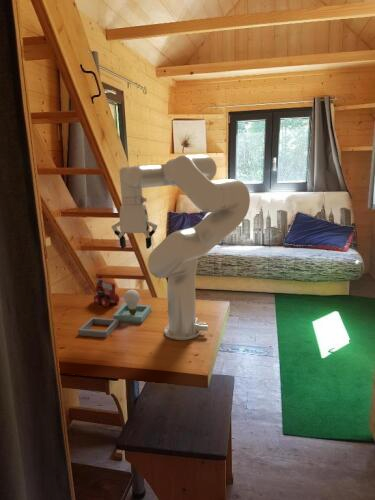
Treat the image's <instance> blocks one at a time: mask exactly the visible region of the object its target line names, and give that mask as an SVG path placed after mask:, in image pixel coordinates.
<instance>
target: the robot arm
mask: <svg viewBox="0 0 375 500" xmlns="http://www.w3.org/2000/svg"><path fill="white" fill-rule="evenodd" d="M217 168H218V167H217V164H216V162H215V160H214V159H213V158H212V157H210V156H208V155H206V154H184V155H183V154H182V155H179V156H177V157H176V158H171V159H168V161H167V162H166V163H164V164H147V165H146V164H145V165H134V166H125V167H124V166H122V167H120V169H119V171H118V172H119V182H120V183H119V184H120V194H121V195H120V197H121V204H122V205H120V208H119V221H118V222H117V223H115V224H113V225H111V229H112V231H113V232H114V235H116V236H117V238H118V239H119V246H120V248H121V249H122V250H123V249H125V248H126V247H127V240H126V237H125V235H126V234H144V236H146V237H145V248H146V249H150V248H151V246H152V245H153V244H152V236H153V235H154V234H156V231H157V229H158V224H156V223H154V222H152V221H150V220H149V214H148V209H147V206H146V204H144V203H145V202H147V198H146V197H144V196H143V189H147V188H155V187H156V188H157V187H158V188H159V187H164V186H167V187H168V186H172V187H178V189H179V190H181V192H182V193H183V194H184V195H185V196H186V197H187V198H188V200H190V202H192V203H193V205H194V206H195V207H196V208H197V209H199V210H200V211H203V212H205V213H208V214H207V215H205V217H204V218H203V219H202V220H201V221H200V222H199V223H197V224H196V225H194V226H191V227H187V228H184V229H183V228H182V229H179V230H176V231H174V232H172V233H169V235H167V236H166V237H165V238H164V239H163V240H162V241H161V242H160V243H159V244H158V245H157V246H156V247H155V248H154V249H153V250H152V251H151V252H150V253H149V256H148V259H147V268H148V271H149V272H150V274H151V275H152V276H153V277H155V278H157V279H162V280H163V279H167V284H166V289H167V291H166V292H167V293H166V295H167V296H166V297H167V316H168V317H167V319H168V322H167V323H168V324H167V325H166V326H165V328H164V331H163V332H164V335H165V337H167V338H169V339H171V340H176V341H188V340H192V339H194V338H197V337H198V336H199V335H200V334H201V331H202V332H204V331H205V332H208V331H209V325H207V322H199V318H198V317H197V315H196V314H197V313H196V312H197V311H196V307H197V306H196V275H197V274H196V273H197V266H198V260H199V258H201V257H203V256H205V255H206V254H208V253H209V252H211V250H212V249H214V248H215V247H216V246H218V244H219V243H221V242H222V241H223V240H224V239H225V238H226V237H228V235H230V234H231V233H232V232H234V231H235V229H237V228H238V227H239V226H240V225H241V224H242V223H243V221H244V220H245V218H246V216H247V214H248V212H249V209H250V204H251V198H250V197H251V196H250V192H249V191H250V190H249V188H248V187H247V185H246V183H244V182H243V181H241V180H238V179H233V178H226V179H216V180H213V179H214V178H215V176H216V174H217ZM118 227H119V229H120V230H118ZM150 227H151V228H152V229H151V231H150Z"/></svg>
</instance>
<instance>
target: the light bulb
mask: <svg viewBox="0 0 375 500" xmlns="http://www.w3.org/2000/svg"><path fill="white" fill-rule="evenodd" d="M140 296H141V295H140V293H139V292H138V291H137V290H135V289H128V290H127V291H126V292H125V293H124V296H123V300H124V302H125V304H127V305H128V308H129V312H130V314H132V315H134V314H135V313H136V307H137V305H138V303H139V301H140Z"/></svg>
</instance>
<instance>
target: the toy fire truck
mask: <svg viewBox="0 0 375 500" xmlns="http://www.w3.org/2000/svg"><path fill="white" fill-rule="evenodd" d="M93 301H94V303H95V305H101V306H102V308H108V307H109V306H110V304H118V303H119V302H120V297H119V295H118V294H117V293H116V284H115V283H114V282H111V281H108V280H103V279H102V278H99V279H98V281H97V282H96V285H95V295H94V296H93Z"/></svg>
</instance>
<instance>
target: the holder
mask: <svg viewBox="0 0 375 500" xmlns="http://www.w3.org/2000/svg"><path fill="white" fill-rule="evenodd" d="M119 323H120V322H118V319H114V318H104V317H103V318H102V317H91V318H90V319H88V321H86V322H85V323H84V324H83V325H82V326H80V328H78V329H77V333H78V336H84V337H85V336H86V337H96V338H108V337H109V336H110V335H111V333H112V332H113V331H114V330H115V329H116V328H117V327H118V326H119ZM93 325H107V326H108V327H107V328H106V329H105V330H101V329H90V328H91V327H92V326H93Z"/></svg>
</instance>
